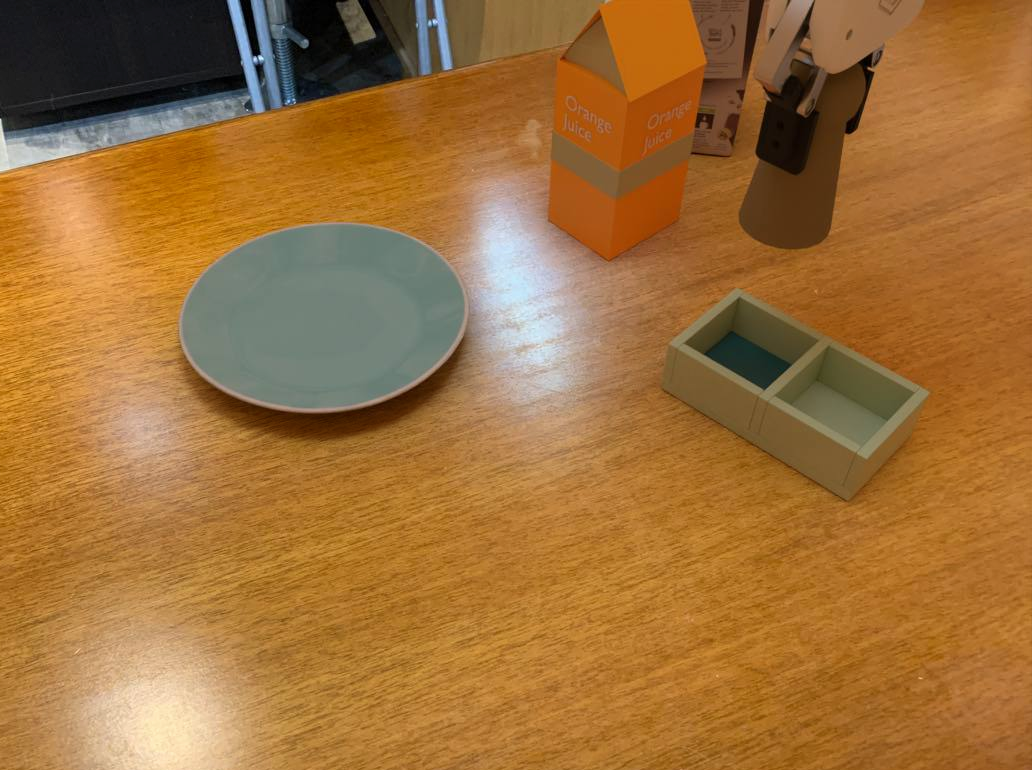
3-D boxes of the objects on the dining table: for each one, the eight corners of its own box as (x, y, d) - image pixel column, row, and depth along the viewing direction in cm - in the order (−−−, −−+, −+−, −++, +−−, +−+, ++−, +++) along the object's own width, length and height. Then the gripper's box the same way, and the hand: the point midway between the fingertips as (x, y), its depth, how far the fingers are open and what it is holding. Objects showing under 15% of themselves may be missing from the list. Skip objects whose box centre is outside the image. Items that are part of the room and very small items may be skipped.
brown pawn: (800, 185, 74) (843, 26, 65) (848, 237, 70) (901, 77, 62) (721, 204, 72) (754, 44, 64) (767, 258, 69) (808, 96, 60)
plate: (149, 293, 88) (140, 265, 86) (399, 218, 94) (397, 190, 92) (240, 478, 76) (233, 451, 74) (519, 378, 82) (520, 350, 80)
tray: (910, 436, 79) (931, 392, 76) (848, 502, 75) (866, 459, 72) (726, 332, 86) (736, 286, 82) (659, 387, 82) (668, 343, 78)
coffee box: (733, 158, 100) (770, -20, 88) (664, 151, 101) (690, -26, 88) (735, 104, 106) (771, -70, 93) (669, 98, 106) (695, -76, 94)
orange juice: (546, 219, 94) (559, -14, 79) (616, 180, 98) (643, -50, 82) (609, 262, 91) (637, 28, 75) (680, 220, 95) (722, -12, 79)
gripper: (871, -117, 47) (779, 232, 61) (1047, -219, 55) (929, 112, 69) (729, -165, 50) (673, 178, 64) (915, -255, 58) (828, 69, 72)
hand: (806, 141), depth 67 cm, fingers closed on brown pawn, 5 cm apart
